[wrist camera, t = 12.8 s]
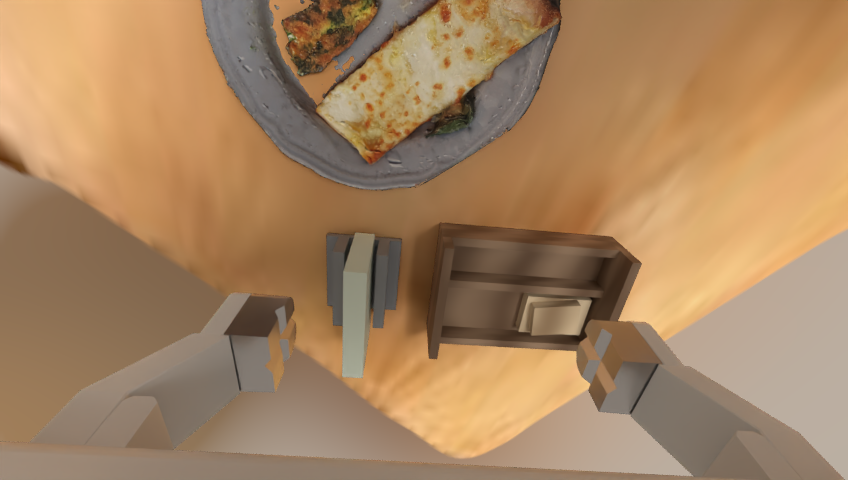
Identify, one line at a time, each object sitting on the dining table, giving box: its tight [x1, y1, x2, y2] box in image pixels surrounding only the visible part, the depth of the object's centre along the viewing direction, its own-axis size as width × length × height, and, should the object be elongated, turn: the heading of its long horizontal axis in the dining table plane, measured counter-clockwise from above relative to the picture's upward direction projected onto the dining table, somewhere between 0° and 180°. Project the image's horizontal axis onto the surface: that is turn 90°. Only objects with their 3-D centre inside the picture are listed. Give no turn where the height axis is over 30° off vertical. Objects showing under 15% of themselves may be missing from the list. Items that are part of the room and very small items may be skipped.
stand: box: [327, 233, 402, 328], centre depth 35 cm, size 7×8×4 cm
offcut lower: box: [516, 293, 592, 335], centre depth 38 cm, size 6×4×1 cm
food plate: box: [201, 0, 562, 191], centre depth 26 cm, size 25×23×4 cm
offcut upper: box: [529, 300, 581, 336], centre depth 37 cm, size 4×3×1 cm
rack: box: [427, 223, 642, 359], centre depth 36 cm, size 17×12×5 cm
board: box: [342, 232, 375, 378], centre depth 34 cm, size 11×2×7 cm, turn 174°
